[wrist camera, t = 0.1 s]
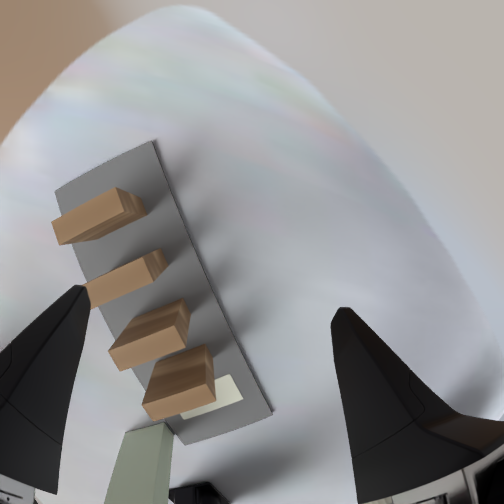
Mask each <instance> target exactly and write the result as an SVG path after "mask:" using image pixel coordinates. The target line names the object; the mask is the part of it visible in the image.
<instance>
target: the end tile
mask: <svg viewBox="0 0 504 504" xmlns="http://www.w3.org/2000/svg"><path fill="white" fill-rule="evenodd" d="M145 216H147V213H146V210H145V208H144V205H143V202H142V200H141V197H138V196H136V195H133V194H131V193H129V192H126V191H124V190H121V189H119V188H117V187H114V188H112V189H110V190H108V191H106V192H104V193H103V194H101V195H99V196H97V197H95V198H93V199H91V200H89V201H87V202H86V203H84V204H82V205H80V206H78V207H76V208H75V209H73V210H71V211H69V212H68V213H66V214H64V215H62V216H61V217H59V218H57V219H56V220H54V221H52V222H51V223H52V226H53V229H54V232H55V235H56V238H57V240H58V243H59V245H65V244H71V243H78V242H85V241H91V240H97V239H99V238H101V237H103V236H105V235H107V234H109V233H111V232H113V231H115V230H117V229H119V228H122V227H124V226H126V225H128V224H130V223H132V222H134V221H136V220H138V219H141V218H143V217H145Z"/></svg>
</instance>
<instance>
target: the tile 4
mask: <svg viewBox="0 0 504 504" xmlns="http://www.w3.org/2000/svg"><path fill="white" fill-rule="evenodd" d="M173 438H174V435H173V433H172V432H171V431H170V430H169V428H168V427H167V425H166V424H165V423H160V424H157V425H153V426H149V427H146V428H142V429H138V430H134V431H130V432H125V435H124V438H123V441H122V444H121V448H120V451H119V454H118V457H117V460H116V464H115V467H114V470H113V474H112V477H111V480H110V484H109V487H108V491H107V494H106V498H105V502H104V504H168V495H169V481H170V469H171V458H172V448H173Z"/></svg>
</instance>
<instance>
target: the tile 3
mask: <svg viewBox="0 0 504 504" xmlns="http://www.w3.org/2000/svg"><path fill="white" fill-rule="evenodd" d="M215 401H216V391H215V379H214V366H213V357H212V355H211V354H210V352H209V350H208V348H207V346H206V344H203V345H200V346H198V347H195V348H192V349H190V350H187V351H185V352H182V353H179V354H177V355H174V356H172V357H169V358H166V359H164V360H161V361H158V362H156V363H155V365H154V368H153V371H152V374H151V377H150V380H149V384H148V387H147V390H146V393H145V396H144V399H143V402H142V406H143V408H144V409H145V411H146V412H147V413H148V415H149V416H150V418H151V419H152V420H153V421H157V420H160V419H163V418H167V417H170V416H173V415H177V414H180V413H183V412H186V411H189V410H192V409H195V408H198V407H201V406H204V405H207V404H210V403H213V402H215Z"/></svg>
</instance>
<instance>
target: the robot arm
mask: <svg viewBox="0 0 504 504" xmlns="http://www.w3.org/2000/svg"><path fill="white" fill-rule="evenodd" d="M90 309H91V302H90V298H89V295H88V291H87V288H86V287H85V286H82V285H74V286H73V287H72V288H70V289H69V290H68V291H67V292H66V293H64V294H63V295H62V296H61V297H60V298H59V299H57V300H56V301H55V302H54V303H53V304H52V305H51V306H49V307H48V308H47V309H46V310H45V311H44V312H43V313H42V314H40V315H39V316H38V317H37V318H36V319H35V320H34V321H33V322H32V323H31V324H30V325H28V326H27V327H26V328H25V329H24V330H23V331H22V332H21V333H20V334H19V335H18V336H17V337H16V338H15V339H14V340H13V341H12V342H11V343H10V344H8V345H7V346H6V347H5V348H4V349H3V350H2V351H1V352H0V504H38V503H37V501H36V500H35V498H34V496H35V488H37V489H40V490H43V491H46V492H49V493H52V494H55V495H57V491H58V479H59V468H60V459H61V451H62V443H63V437H64V430H65V424H66V419H67V413H68V408H69V403H70V399H71V394H72V389H73V385H74V381H75V377H76V373H77V369H78V365H79V361H80V357H81V353H82V350H83V346H84V341H85V335H86V330H87V324H88V319H89V314H90ZM331 335H332V345H333V355H334V363H335V369H336V374H337V379H338V384H339V389H340V394H341V399H342V404H343V410H344V415H345V421H346V426H347V432H348V438H349V444H350V450H351V457H352V464H353V471H354V478H355V485H356V493H357V501H358V504H364V503H368V502H372V501H376V500H380V499H384V498H387V497H391V499H392V503H390V504H504V421H495V420H489V419H483V418H477V417H471V416H466V415H463V414H460V413H458V412H456V411H455V410H453V409H452V408H451V407H450V406H449V405H447V404H446V403H445V402H444V401H443V400H442V399H441V398H440V397H439V396H437V395H436V394H435V393H434V392H433V391H432V390H431V389H430V388H429V387H428V386H426V385H425V384H424V383H423V382H422V381H421V380H420V379H419V378H418V377H417V376H416V374H415V373H414V372H413V371H412V370H410V368H409V367H408V366H407V365H406V364H405V363H404V362H403V361H402V360H401V359H400V358H399V357H398V356H397V355H396V354H395V353H394V352H393V350H392V349H391V348H390V347H389V346H388V345H387V344H386V343H385V342H384V341H383V340H382V339H381V338H380V337H379V336H378V335H377V334H376V333H375V332H374V331H373V330H372V329H371V328H370V327H369V326H368V325H367V324H366V323H365V322H364V321H363V320H362V319H361V318H360V317H359V316H358V315H357V314H356V313H355V312H354V311H353V310H352V309H351V308H349V307H340V308H339V309H338V310H337V312H336V314H335V316H334V317H333V319H332V321H331ZM168 498H169V499H170V500H171V501H172V502H173V503H174V504H231V503H230V502H229V501H228V500H227V499H226V498H225V497H224V496H223V495H222V494H221V493H220V492H219V491H218V490H217V489H216V488H215V487H214V486H213V485H212V484H211V483H209V482H206V483H202V484H198V485H193V486H189V487H184V488H179V489H174V490H169V495H168Z"/></svg>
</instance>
